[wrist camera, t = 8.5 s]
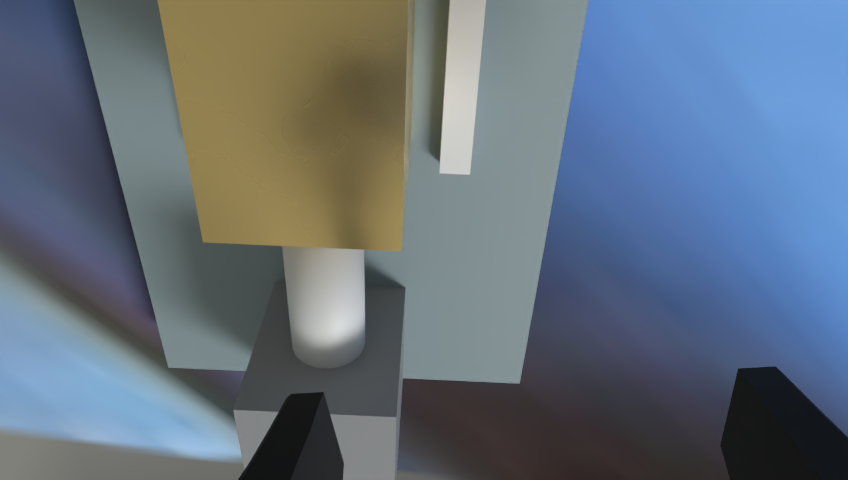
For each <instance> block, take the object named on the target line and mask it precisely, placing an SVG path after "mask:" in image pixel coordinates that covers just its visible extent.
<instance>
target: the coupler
mask: <svg viewBox="0 0 848 480" xmlns="http://www.w3.org/2000/svg"><path fill="white" fill-rule="evenodd" d="M158 6H159V11H160V16H161V22H162V27H163V32H164V38H165V43H166V48H167V54H168V59H169V64H170V70H171V75H172V80H173V86H174V91H175V96H176V102H177V107H178V112H179V118H180V123H181V128H182V133H183V139H184V144H185V149H186V155H187V160H188V165H189V171H190V176H191V181H192V187H193V192H194V197H195V203H196V208H197V213H198V219H199V224H200V229H201V235H202V240H203V242H206V243H228V244H250V245H271V246H293V247H315V248H337V249H358V250H380V251H402V242H403V231H404V219H405V207H406V195H407V184H408V172H409V160H410V149H411V134H412V102H413V71H414V40H415V9H416V0H158Z"/></svg>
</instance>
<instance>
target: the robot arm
mask: <svg viewBox="0 0 848 480" xmlns="http://www.w3.org/2000/svg"><path fill="white" fill-rule="evenodd" d="M720 446H721V449H722V453H723V456H724V460H725V463H726V466H727V470H728V473H729V477H730V480H848V437H847V436H846V435H845V434H844V433H843V432H842V431H841V430H840V429H839V428H838V427H837V426H836V425H835V424H834V423H833V422H832V421H831V420H830V419H828V418H827V417H826V416H825V415H824V414H823V413H822V412H821V411H820V410H819V409H818V408H817V407H816V406H815V405H814V404H813V403H812V402H811V401H810V400H809V399H808V398H807V397H806V396H805V395H804V394H803V393H802V392H801V391H800V390H799V389H798V388H797V387H796V386H795V385H794V384H793V383H792V382H791V381H790V380H789V379H788V378H787V377H786V376H785V375H784V374H783V373H782V372H781V371H780V370H779V369H778V368H777V367H759V368H741V369H738V372H737V376H736V381H735V385H734V389H733V393H732V398H731V402H730V406H729V411H728V415H727V419H726V424H725V428H724V432H723V436H722V441H721V445H720ZM343 470H344V461H343V458H342V454H341V451H340V447H339V444H338V440H337V437H336V433H335V430H334V426H333V423H332V419H331V416H330V412H329V409H328V405H327V402H326V398H325V395H324V392H315V393H297V394H290V395H289V396H288V397H287V398H286V399H285V401H284V403H283V405H282V407H281V408H280V410H279V412H278V414H277V416H276V417H275V419H274V421H273V423H272V425H271V426H270V428H269V430H268V432H267V433H266V435H265V437H264V438H263V440H262V442H261V444H260V445H259V447H258V449H257V450H256V452H255V454H254V455H253V457H252V459H251V460H250V462H249V464H248V465H247V467H246V468H245V470H244V472H243V473H242V475H241V476H240V478H239V480H343Z"/></svg>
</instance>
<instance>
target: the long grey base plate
mask: <svg viewBox="0 0 848 480" xmlns="http://www.w3.org/2000/svg"><path fill="white" fill-rule="evenodd" d="M74 4H75V8H76V12H77V16H78V20H79V24H80V27H81V31H82V35H83V39H84V43H85V47H86V51H87V55H88V58H89V62H90V66H91V70H92V74H93V78H94V82H95V85H96V89H97V93H98V97H99V101H100V105H101V109H102V113H103V116H104V120H105V124H106V128H107V132H108V136H109V140H110V143H111V147H112V151H113V155H114V159H115V163H116V167H117V171H118V174H119V178H120V182H121V186H122V190H123V194H124V198H125V201H126V205H127V209H128V213H129V217H130V221H131V225H132V228H133V232H134V236H135V240H136V244H137V248H138V252H139V256H140V259H141V263H142V267H143V271H144V275H145V279H146V283H147V286H148V290H149V294H150V298H151V302H152V306H153V310H154V314H155V317H156V321H157V325H158V329H159V333H160V337H161V341H162V344H163V348H164V352H165V356H166V360H167V364H168V367H170V368H192V369H214V370H236V371H246V373H245V376H244V379H243V382H242V385H241V388H240V391H239V394H238V397H237V400H236V403H235V406H234V409H233V411H234V416H235V422H236V427H237V432H238V438H239V443H240V448H241V454H242V459H243V464H244V469H245V468H246V467H247V465H248V464H249V462H250V460H251V459H252V457H253V455H254V454H255V452H256V450H257V449H258V447H259V445H260V444H261V442H262V440H263V438H264V437H265V435H266V433H267V432H268V430H269V428H270V426H271V425H272V423H273V421H274V419H275V417H276V416H277V414H278V412H279V410H280V408H281V407H282V405H283V403H284V401H285V399H286V398H287V397H288V396H289V395H290V394H297V393H315V392H324V395H325V398H326V402H327V405H328V409H329V412H330V416H331V419H332V423H333V426H334V430H335V433H336V437H337V440H338V444H339V447H340V451H341V454H342V458H343V461H344V470H343V480H396V473H397V458H398V443H399V427H400V412H401V397H402V382H403V378H411V379H433V380H455V381H477V382H499V383H520V379H521V373H522V367H523V362H524V356H525V351H526V345H527V340H528V334H529V328H530V323H531V317H532V312H533V306H534V301H535V295H536V290H537V284H538V278H539V273H540V267H541V262H542V256H543V251H544V245H545V240H546V234H547V228H548V223H549V217H550V212H551V206H552V201H553V195H554V189H555V184H556V178H557V173H558V167H559V162H560V156H561V151H562V145H563V139H564V134H565V128H566V123H567V117H568V112H569V106H570V100H571V95H572V89H573V84H574V78H575V73H576V67H577V62H578V56H579V50H580V45H581V39H582V34H583V28H584V23H585V17H586V11H587V6H588V0H416V9H415V40H414V71H413V102H412V134H411V149H410V160H409V172H408V184H407V195H406V207H405V219H404V231H403V242H402V251H380V250H358V249H337V248H315V247H293V246H271V245H250V244H228V243H206V242H203V240H202V235H201V229H200V224H199V219H198V213H197V208H196V203H195V197H194V192H193V187H192V181H191V176H190V171H189V165H188V160H187V155H186V149H185V144H184V139H183V133H182V128H181V123H180V118H179V112H178V107H177V102H176V96H175V91H174V86H173V80H172V75H171V70H170V64H169V59H168V54H167V48H166V43H165V38H164V32H163V27H162V22H161V16H160V11H159V6H158V0H74Z"/></svg>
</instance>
